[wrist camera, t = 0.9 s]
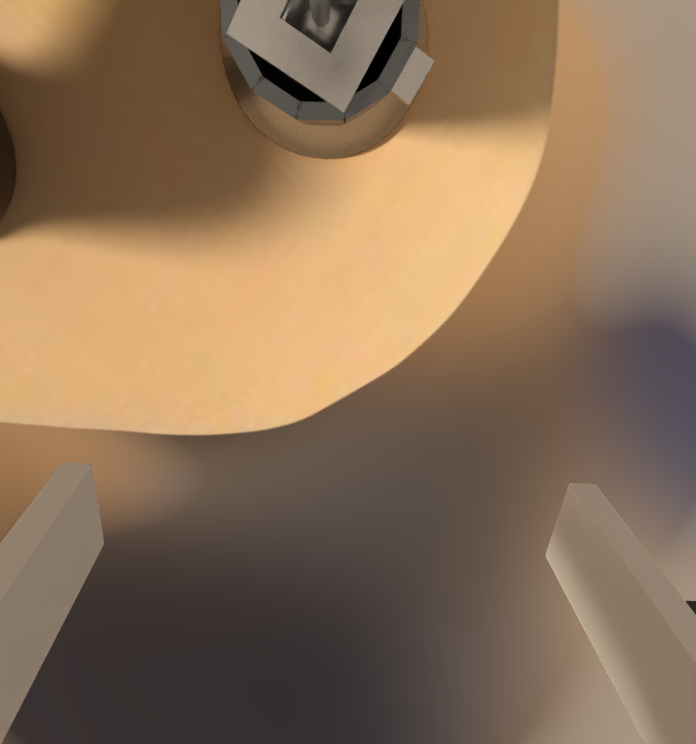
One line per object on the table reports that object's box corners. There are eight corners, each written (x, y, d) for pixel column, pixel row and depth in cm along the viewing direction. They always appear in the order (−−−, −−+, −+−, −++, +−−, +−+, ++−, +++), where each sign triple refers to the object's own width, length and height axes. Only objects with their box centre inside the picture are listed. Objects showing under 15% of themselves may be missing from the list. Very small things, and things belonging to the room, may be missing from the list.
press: (186, 86, 39) (119, 61, 27) (280, -139, 34) (249, -294, 22) (358, 195, 42) (367, 217, 30) (467, 7, 37) (530, -57, 25)
